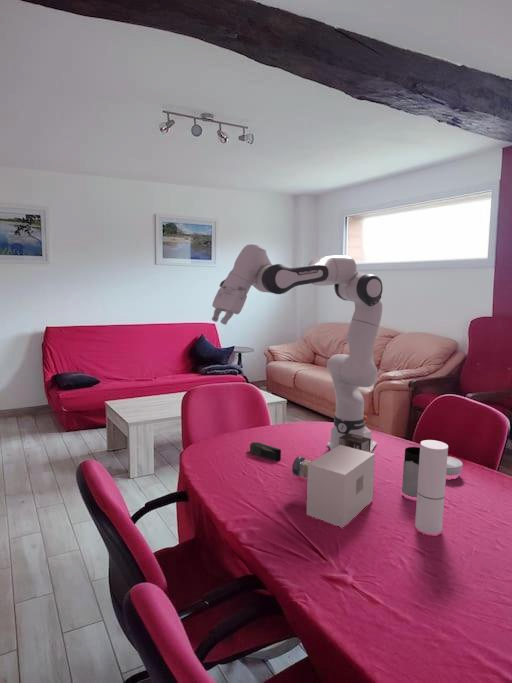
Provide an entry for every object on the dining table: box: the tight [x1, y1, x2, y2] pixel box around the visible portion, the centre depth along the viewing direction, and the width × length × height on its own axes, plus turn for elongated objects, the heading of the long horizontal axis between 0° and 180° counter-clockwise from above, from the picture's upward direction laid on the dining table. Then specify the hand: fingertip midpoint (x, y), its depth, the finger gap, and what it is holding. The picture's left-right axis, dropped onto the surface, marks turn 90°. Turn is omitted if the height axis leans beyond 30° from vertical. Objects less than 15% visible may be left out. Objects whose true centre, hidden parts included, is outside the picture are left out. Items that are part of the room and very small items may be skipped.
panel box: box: [306, 445, 376, 528], centre depth 140 cm, size 20×12×16 cm, turn 142°
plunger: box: [291, 456, 313, 479], centre depth 145 cm, size 6×15×6 cm, turn 52°
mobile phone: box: [246, 441, 282, 462], centre depth 181 cm, size 5×3×15 cm
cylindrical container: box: [414, 439, 449, 534], centre depth 129 cm, size 7×7×25 cm
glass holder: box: [401, 446, 420, 497], centre depth 152 cm, size 9×14×15 cm, turn 137°
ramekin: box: [446, 456, 464, 476], centre depth 166 cm, size 11×11×5 cm
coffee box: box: [339, 433, 372, 452], centre depth 158 cm, size 9×6×16 cm
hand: (218, 322), depth 159 cm, fingers open, 8 cm apart
